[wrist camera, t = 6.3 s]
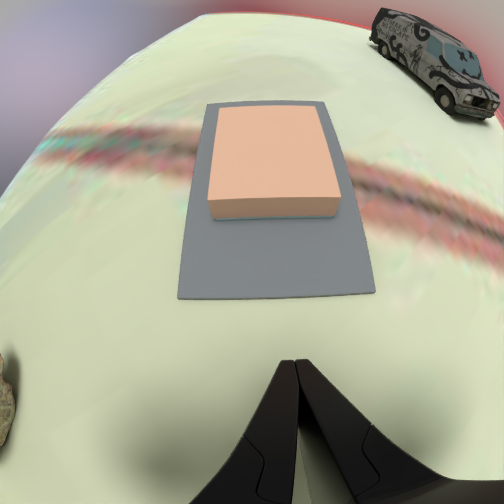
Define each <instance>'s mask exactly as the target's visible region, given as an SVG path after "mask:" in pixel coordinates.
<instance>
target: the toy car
mask: <svg viewBox="0 0 504 504" xmlns="http://www.w3.org/2000/svg"><path fill="white" fill-rule="evenodd" d="M369 40H370V41H371V40H372V41H373V42H374V43H375V44H377V45H379V46H378V53H379V54H380V55H382V56H383V57H384V58H386V59H387V60H392V59H393V57H394V58H395V59H397V60H398V61H399V62H401V63H402V64H403V65H404V66H406V67H407V68H408V69H410V70H411V71H412V72H413V73H415V74H416V75H417V76H418V77H419V78H421V79H422V80H423V81H424V82H425V83H426V84H428V85H429V86H430V87H431V88H432V89H433V90H435V91H436V93H435V97H434V99H435V102H436V104H437V105H438V106H439V107H440V108H441V109H442V110H443V111H444V112H446V113H447V114H449V115H452V114H454V113H455V111H456V112H458V113H460V114H467V115H470V116H475V117H478V118H479V119H480V120H485V119H486V118H491V117H493V116H495V115H494V112H495V111H496V110H497V108H498V107H499V105H500V102H501V101H500V98H499V95H498V94H497V93H496V92H495V91H494V90H493V89H492V88H491V87H490V86H489V85H488V84H487V83H486V82H485V80H484V78H483V74H482V70H481V67H480V63H479V60H478V57H477V55H476V54H475V53H474V52H473V51H471V50H470V49H469V48H467V47H466V46H465V45H464V44H463V43H462V42H461V41H459V40H458V39H456V38H455V37H453V36H452V35H450V34H448V33H447V32H445V31H443V30H442V29H440V28H438V27H436V26H435V25H433V24H431V23H429V22H427V21H425V20H423V19H421V18H419V17H417V16H414V15H411V14H407V13H403V12H399V11H396V10H391V9H386V8H381V9H380V10H379V12H378V14H377V15H376V17H375V19H374V21H373V24H372V33H371V37H369Z"/></svg>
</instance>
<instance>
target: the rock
mask: <svg viewBox="0 0 504 504" xmlns="http://www.w3.org/2000/svg"><path fill="white" fill-rule="evenodd" d="M3 365H4V363H3V359H2V357H1V354H0V446H2V445H3V443H4V441H5V439H6V436H7V433H8V431H9V428H10V426H11V423H12V420H13V418H14V416H15V401H14V397H13V394H12V386H11V385H10V384H8V383H7V382H5V381H4V380H3V378H2V370H3Z"/></svg>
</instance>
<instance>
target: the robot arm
mask: <svg viewBox="0 0 504 504" xmlns="http://www.w3.org/2000/svg"><path fill="white" fill-rule="evenodd" d="M297 435H298V438H299V443H300V448H301V453H302V458H303V463H304V468H305V473H306V477H307V482H308V487H309V492H310V497H311V502H312V504H504V480H456V479H451V478H447V477H444V476H442V475H440V474H438V473H436V472H435V471H433V470H431V469H430V468H428V467H427V466H425V465H424V464H422V463H421V462H419V461H418V460H416V459H415V458H414V457H412V456H411V455H409V454H408V453H406V452H405V451H404V450H402V449H401V448H400V447H398V446H397V445H396V444H394V443H393V442H392V441H391V440H390V439H388V438H387V437H386V436H385V435H384V434H383V433H382V432H381V431H379V430H378V429H377V428H376V427H375V426H374V425H373V424H372V425H371V422H370V421H369V420H368V419H367V418H366V417H365V416H364V415H363V414H362V413H361V412H360V411H359V410H358V409H357V408H356V407H355V406H354V405H353V404H352V403H351V402H350V401H349V400H348V399H347V398H346V397H345V396H344V395H343V394H342V393H341V392H340V391H339V390H338V389H337V388H336V387H335V386H334V385H333V384H332V383H331V382H330V381H329V380H328V379H327V378H326V377H325V376H324V375H323V374H322V373H321V372H320V371H319V370H318V369H317V368H316V367H315V366H314V365H313V364H312V363H311V362H310V361H309V360H308V359H297V360H295V361H294V360H282V361H280V363H279V365H278V367H277V369H276V371H275V373H274V375H273V377H272V379H271V382H270V384H269V386H268V388H267V390H266V392H265V394H264V395H263V397H262V399H261V401H260V403H259V405H258V407H257V409H256V411H255V413H254V415H253V417H252V418H251V420H250V422H249V424H248V426H247V428H246V430H245V431H244V433H243V435H242V436H243V437H241V438H240V440H239V442H238V443H237V445H236V447H235V449H234V450H233V452H232V453H231V455H230V456H229V458H228V459H227V461H226V462H225V463H224V465H223V466H222V467H221V469H220V470H219V471H218V472H217V474H216V475H215V476H214V477H213V478H212V479H211V480H210V482H209V483H208V484H207V485H206V486H205V487H204V488H203V489H202V490H201V492H200V493H199V494H198V495H197V496H196V497H195V498H194V499H193V500H192V501H191V502H190V503H189V504H292V496H293V486H294V475H295V463H296V450H297Z"/></svg>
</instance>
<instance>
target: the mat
mask: <svg viewBox="0 0 504 504" xmlns="http://www.w3.org/2000/svg"><path fill="white" fill-rule="evenodd" d="M269 105H293V106H315V108H316V111H317V114H318V117H319V120H320V123H321V126H322V129H323V132H324V135H325V139H326V142H327V145H328V149H329V152H330V156H331V159H332V163H333V167H334V170H335V174H336V178H337V182H338V186H339V190H340V194H341V200H340V202H339V205H338V208H337V211H336V214H335V216H332V218H279V219H244V220H218V221H215V219H213V217H212V214H211V211H210V207H209V204H208V201H207V199H208V190H209V181H210V173H211V165H212V157H213V149H214V142H215V135H216V128H217V121H218V115H219V108H226V107H241V106H269ZM375 292H376V290H375V283H374V278H373V272H372V267H371V261H370V256H369V251H368V247H367V242H366V237H365V233H364V229H363V224H362V220H361V216H360V212H359V208H358V204H357V201H356V197H355V193H354V190H353V186H352V183H351V179H350V176H349V173H348V169H347V166H346V163H345V160H344V157H343V153H342V150H341V147H340V144H339V142H338V139H337V136H336V133H335V130H334V127H333V125H332V122H331V119H330V117H329V114H328V111H327V109H326V106H325V104H324V102H318V101H286V100H274V101H242V102H227V103H215V104H207V107H206V112H205V116H204V121H203V126H202V130H201V135H200V140H199V145H198V150H197V156H196V161H195V167H194V172H193V178H192V184H191V190H190V196H189V203H188V210H187V216H186V224H185V231H184V239H183V247H182V255H181V264H180V274H179V284H178V295H177V298H178V299H194V300H225V299H277V298H303V297H324V296H341V295H356V294H369V293H375Z"/></svg>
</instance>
